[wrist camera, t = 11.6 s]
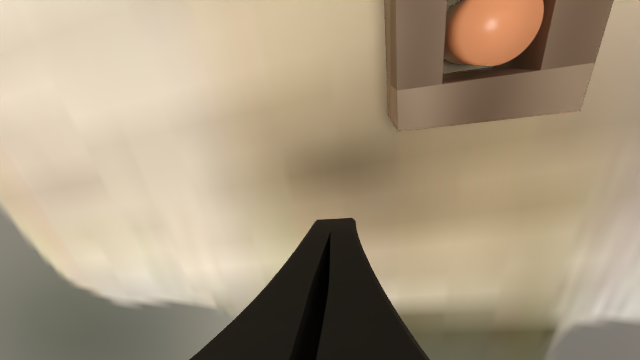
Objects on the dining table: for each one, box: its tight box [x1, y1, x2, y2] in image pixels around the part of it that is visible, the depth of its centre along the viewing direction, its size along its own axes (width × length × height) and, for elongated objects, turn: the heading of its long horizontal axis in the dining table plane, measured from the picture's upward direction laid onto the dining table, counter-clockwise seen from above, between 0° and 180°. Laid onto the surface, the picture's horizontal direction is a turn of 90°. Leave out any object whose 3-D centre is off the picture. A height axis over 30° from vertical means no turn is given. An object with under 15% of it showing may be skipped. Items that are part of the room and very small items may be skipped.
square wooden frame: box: [384, 0, 614, 131], centre depth 12 cm, size 8×8×4 cm
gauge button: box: [444, 0, 544, 66], centre depth 11 cm, size 3×3×4 cm
